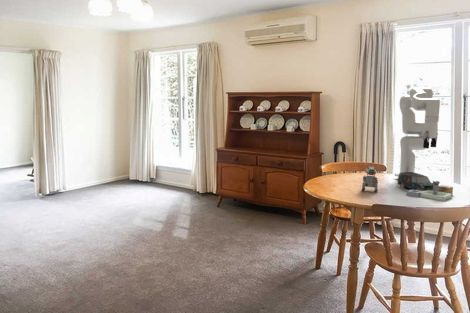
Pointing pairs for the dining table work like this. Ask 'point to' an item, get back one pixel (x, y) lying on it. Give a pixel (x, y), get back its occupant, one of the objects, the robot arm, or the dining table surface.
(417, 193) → the pin socket
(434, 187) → the stop pin
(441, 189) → the chock
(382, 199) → the dining table surface
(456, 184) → the dining table surface
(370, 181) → the figurine
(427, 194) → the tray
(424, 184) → the toy van
